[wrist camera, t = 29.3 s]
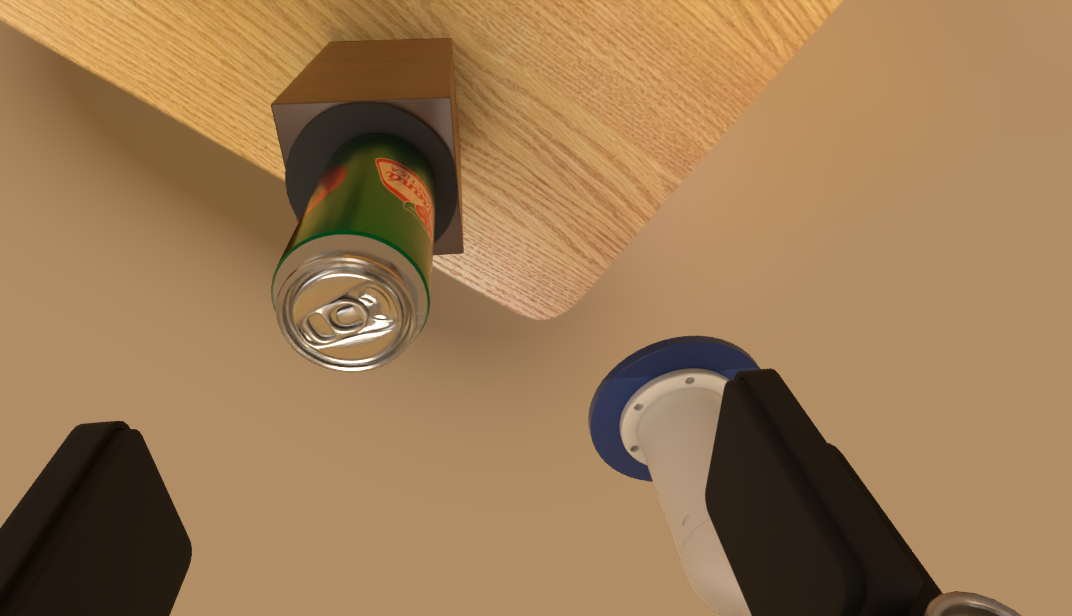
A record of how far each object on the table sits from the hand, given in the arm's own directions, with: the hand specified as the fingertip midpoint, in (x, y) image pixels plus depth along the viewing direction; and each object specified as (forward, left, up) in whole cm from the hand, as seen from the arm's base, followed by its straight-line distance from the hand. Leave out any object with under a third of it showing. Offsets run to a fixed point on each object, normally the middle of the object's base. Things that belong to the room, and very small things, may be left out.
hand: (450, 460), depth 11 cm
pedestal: (-4, +4, -38) cm, 39 cm away
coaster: (-4, +4, -22) cm, 23 cm away
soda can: (-3, +4, -22) cm, 22 cm away
